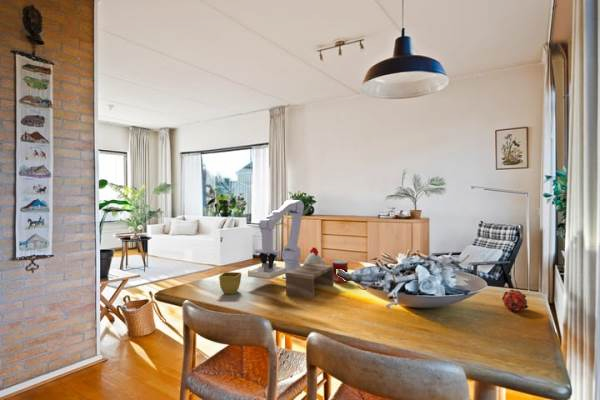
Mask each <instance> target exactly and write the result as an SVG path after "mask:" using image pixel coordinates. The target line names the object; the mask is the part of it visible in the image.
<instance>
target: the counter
mask: <svg viewBox="0 0 600 400" xmlns="http://www.w3.org/2000/svg"><path fill="white" fill-rule="evenodd" d="M300 266H301V267H298V268H296V269H294V270H291V271H289V272H286V278H285V294H286V296H292V297H297V298H304V299H309V298H310V299H311V300H314V299H315V285H317V284H318V286H326V287H334V285H335V284H334V283H335V282H334V278H333V264H331V265H330V264H325V265H324V264H314V263H308V264H306V265H300Z"/></svg>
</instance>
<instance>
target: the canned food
mask: <svg viewBox="0 0 600 400" xmlns="http://www.w3.org/2000/svg"><path fill="white" fill-rule="evenodd" d="M332 265H333V278H334V283H335V284H345V283H347V282H346V281H344V280H343V279H342V278H340V277H338V276H337V275H336V269H342V270H344V271H345V272H347V273H348V270H349V269H348V266H349V265H348V261H347V260H345V259H334V260H332ZM348 274H349V273H348Z"/></svg>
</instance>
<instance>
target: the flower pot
mask: <svg viewBox="0 0 600 400" xmlns="http://www.w3.org/2000/svg"><path fill="white" fill-rule="evenodd" d="M241 279H242V272H239V271H238V272H236V271H235V272H234V271H229V272H228V271H226V272H225V271H224V272H223V273H222V274H220V275H219V276H218V280H219V286H220V289H221V292H222V293H223V294H227V295H228V294H229V295H234V294H236V293H237V291H238V290H239V288H240V286H241Z"/></svg>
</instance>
